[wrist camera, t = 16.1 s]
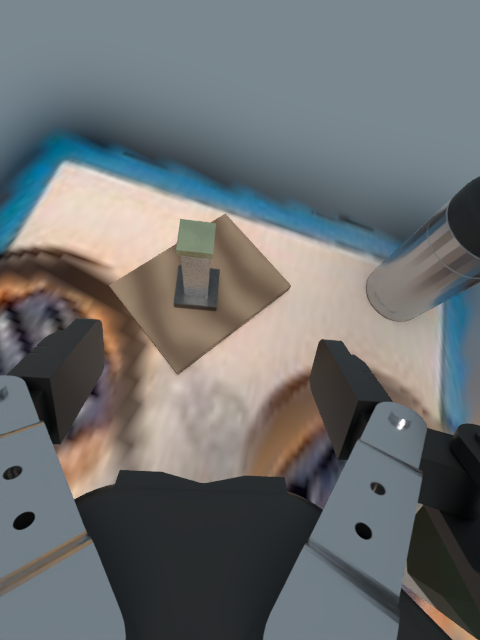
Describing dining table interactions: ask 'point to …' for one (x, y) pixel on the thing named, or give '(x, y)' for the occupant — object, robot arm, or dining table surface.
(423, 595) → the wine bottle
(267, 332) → the dining table surface
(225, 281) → the serving board
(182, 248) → the square capped column
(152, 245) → the dining table surface
